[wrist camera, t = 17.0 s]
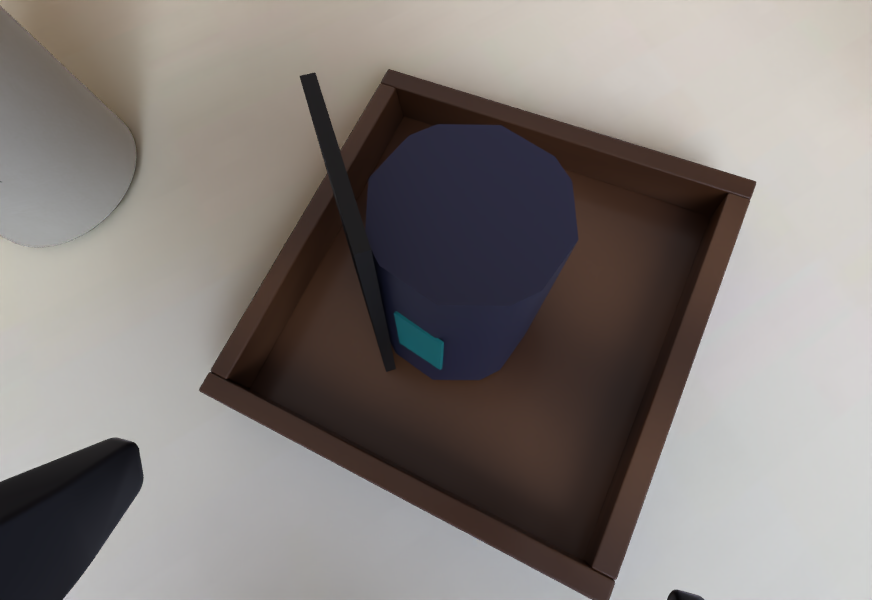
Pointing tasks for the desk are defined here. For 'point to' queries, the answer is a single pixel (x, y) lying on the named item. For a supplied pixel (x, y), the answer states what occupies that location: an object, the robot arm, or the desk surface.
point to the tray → (527, 365)
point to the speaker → (453, 241)
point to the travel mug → (54, 147)
